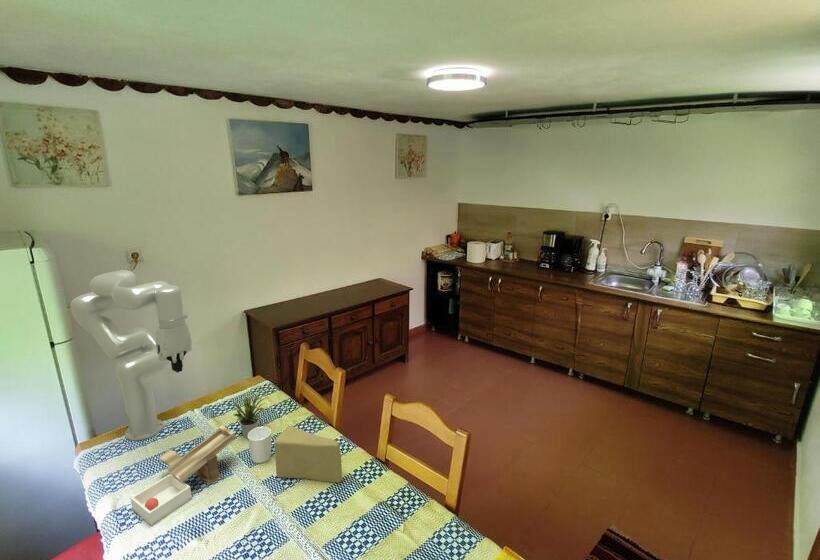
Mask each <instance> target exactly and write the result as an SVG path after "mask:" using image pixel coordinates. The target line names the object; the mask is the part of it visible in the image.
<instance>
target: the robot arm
mask: <svg viewBox="0 0 820 560" xmlns="http://www.w3.org/2000/svg"><path fill="white" fill-rule="evenodd" d="M88 286H89V289H90V291H91V292H87V293H84V294H80V295H78V296H77V297H75V298H73V299H72V300H71V302H70V306H69V307H70V313H71V315H72V316H73V319H74V320H75V321H76V322H77V323H78V325H80V326H81V327H82V328H84V330H86V331H87V332H88V333H89V334H90V335H91V336H92V337H93V338H94V340H95V341H96V343H97V344H98V345H99V346H100V348H101V350H102V351H103V352H104V353H105V354H106V356H107V357H108V358H109V359H111V360H116V361H118V360H121V359H123V360H121V361H120V362H119V363H117V365H116V366H115V369H114V370H115V371H114V373H115V376H116V378H117V380H118V383H119V384H120V388H121V393H122V399H123V402H124V406H125V407H124V408H125V412H126V418H127V424H128V428H127V429H126V430H125V432H124V435H125V438H126V439H127V440H128V441H134V442H135V441H136V442H137V441H144V440H147V439H150V438H152V437H153V436H156V435H157V434H158V433H160V432H161V431H162V429H163V427H164V422H163V421H162V420H161V419H158V414H157V407H156V401H155V400H156V398H155V394H154V388H153V386H152V384H151V383H149V382H147V381H146V380H145V379H147V378H149V377H150V376H153V375H155V374H157V373H160V372H161V371H164V370H165V369H166V368H167V367H168V365H169V362H170V364H171V365H170V366H171V370H172V371H174V372H175V373H180V372H182V371H183V367H184V364H183V360H184V358H185V356H186V354H187V353H189V352H190V351H192V346H193V345H192V337H191V332H190V330H189V326H188V324H187V322H186V319H188V315H187V314H184V307H183V300H182V299H183V298H182V290H181V288H180V287H179V286H177V285H175V284H174V285H173V284H170V283H168V282H166V281H164V280H156V281H152V282H147V283H143V284H139V279H138V277H137V275H136V274H135V273H134V272H133V271H131V270H129V269H121V270H114V271H110V272H105V273H101V274H98V275H96V276H94V277H93V278H92V279H91V280H90V282H89V285H88ZM154 305H155V306H156V314H157V322H158V326H157V327H156V329H155V337H154V335H153V333H152V332H150V331H149V330H148V329H147V328H145V327H141V326H136V327H133V328H130V329H127V330H123V329H122V328H121V327H120V326H119V325H118V323H117V322H116V321H115V320H114V319H111V318H110V317H107V316H105V315H101V313H106V312H110V311H114V310H116V309H124V310H129V311H130V310H131V311H138V310H141V309H145V308H148V307H151V306H154ZM139 352H140V353H139ZM131 355H132V356H131ZM124 358H125V359H124Z"/></svg>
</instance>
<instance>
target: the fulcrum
mask: <svg viewBox="0 0 820 560" xmlns="http://www.w3.org/2000/svg"><path fill="white" fill-rule="evenodd" d="M217 455H218V454H217ZM217 455H214V456H212V457H211V458H209V459H207V460H208V462H207V463H206V464H204V465H203V466H202V467H201V468H199V469H198V470H197V471H196V472H194V473H193V474H194V475H195V476H197V477H199V478H200V479H201V480H203V481H204V482H206V483H207V484H209V485H212V484H213V483H215V482H216V481H218V480H219V479H221V478H222V474H221V473H220V472H219V471H220V470H219V465H218V464H219V463H218V456H217Z"/></svg>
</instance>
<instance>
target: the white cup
mask: <svg viewBox="0 0 820 560" xmlns="http://www.w3.org/2000/svg"><path fill="white" fill-rule="evenodd" d="M247 441H248V447H249V453H250V457H251V461H252V462H253V463H256V464H261V463H266V462H267V461H268V460H269V459H271V457H272V429H271V428H270V427H268V426H258V427H257V428H254V429H252V430H251V431H250V432H249V433H248V438H247Z"/></svg>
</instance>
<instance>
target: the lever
mask: <svg viewBox="0 0 820 560" xmlns="http://www.w3.org/2000/svg"><path fill="white" fill-rule="evenodd" d="M236 440H237V436H236V433H235V431H233V430H231V429H230V428H229V427H226V426H224V425H220V426H219V427H218V428H217V430H215V431H214V432H213V433H212V434H211V435H209V436H208V437H207V438H205V439H204V440H202V441H201V442H200V443H199V444H197V445H196V446H195V447H193V448H192V449H191V450H189V451H187V453H185V454H183V456H182V455H180V454H179V453H177V452H175V451H174V450H173V449H171V448H170V449H168V450H167V451H165V453H163V454H162V455H160V456H159V457H158V458H159V461H160V462H162V463H164V464H165V465H166V466H168V467H167V470H168V472H169V474H171V475H173V476H174V477H176V478H177V479H179V480H180V481H181V482H185V480H187V479H189V478H190V477H191V476H192V475H193V474H194V472H196V471H197V470H198V469H199V468H201V467H202V466H203V465H204V464H206V463H207V462H208V460H207V459H209V458H211V457H212V456H214V455H218V454H219V453H220V452H222V451H223V450H224V449H225V448H226V447H228V446H229V445H231V444H232V443H233V442H234V441H236Z"/></svg>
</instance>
